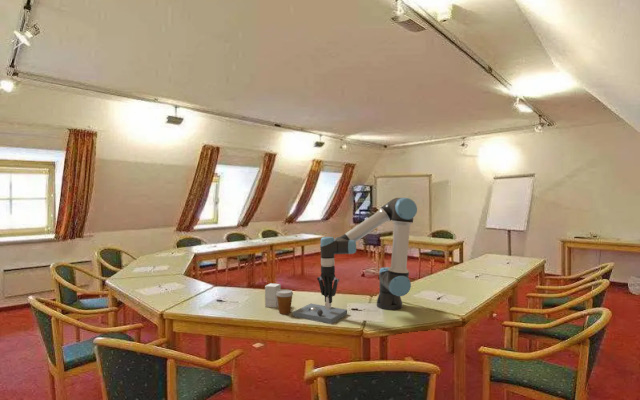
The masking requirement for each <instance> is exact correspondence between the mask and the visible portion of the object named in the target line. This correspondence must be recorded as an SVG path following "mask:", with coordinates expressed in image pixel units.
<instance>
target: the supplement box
mask: <svg viewBox="0 0 640 400" xmlns="http://www.w3.org/2000/svg"><path fill="white" fill-rule="evenodd" d="M281 287H282V285H281V283H271V282H270V283H268V284H266V285H265V286H264V302H265V304H264V305H265V308H275V309H276V308H277V307H278V299H277V295H276V293H277V291H279V290H282V288H281ZM278 308H279V307H278Z"/></svg>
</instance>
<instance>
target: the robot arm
mask: <svg viewBox="0 0 640 400" xmlns="http://www.w3.org/2000/svg"><path fill="white" fill-rule="evenodd" d="M417 212H418V207H417V203H416V202H415V201H414V200H413V199H411V198H408V197H396V198H392V199H391V200H390V201H388V202H387V203H385V204H384V205H383V206H381V207H379V210H378V211H376V212H375V213H373V214H372V215H370V216H369V217H368V218H366V219H365V220H363V221H362V222H360V223H359V224H357V225H355V227H352V228H351V229H350V230H349V231H346V233H344V234H342V235H341V236H337V237H335V238H334V237H333V236H323V237H321V238H320V245H319V246H320V248H319V249H320V265H321V266H320V273H321V274H320V276H318V277H317V278H316V279H317V280H316V281H317V282H318V284H319V289H320V293H321V296H324V303H326V309H330V308H331V307H332V303H333V297H335V296H336V294H337V288H338V285H339V284H338V283H339V282H340V278H337V277H336V273H335V272H336V271H335V270H336V269H335V268H336V267H335V255H353V254H355V253H356V252H357V242H358V241H359V240H361V239H362V238H364V237H366V236H367V235H368V234H370V233H372V232H373V231H374V230H376V229H377V228H379V227H380V226H382V225H384V224H385V223H386V222H388V223H389V222H392V224H393V236H392V237H393V238H392V250H391V260H390V266H387V267H380V268H379V273H378V274H379V278H378V279H379V294H378V297H377V299H376V307H377V308H379V309H383V310H389V311H390V310H391V311H393V310H394V311H395V310H400V309H402V308H403V300H402V298H401V297H403V296H406V295H407V294H409V292H410V291H411V288H412V283H411V279H409V275H410V272H409V270H408V269H407V265H408V264H407V263H408V254H409V241H410V240H409V239H410V230H411V229H410V228H411V225H413V223H414V217H416V215H417V214H418V213H417Z"/></svg>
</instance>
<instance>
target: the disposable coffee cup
mask: <svg viewBox="0 0 640 400" xmlns="http://www.w3.org/2000/svg"><path fill="white" fill-rule="evenodd" d="M276 295H277V299H278V313H279V314H281V315H288V314H290V313H291V310H292V309H291V308H292V301H293V300H292V299H293V295H294V292H293V290H292V289H281V290H279V291H277V293H276Z"/></svg>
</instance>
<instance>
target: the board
mask: <svg viewBox="0 0 640 400" xmlns="http://www.w3.org/2000/svg"><path fill="white" fill-rule="evenodd" d="M312 307H314V308H316V310H314V311H311V310H310V309H311V308H312ZM318 310H322V311H323V314H322V315H321V316H319V315H318V314H317V311H318ZM292 315H293V317H295V318H300V319H306V320H310V321H315V322H320V323H325V324H331V325H332V324H333V323H335V322H337V321H339V319H342V318H343V317H345V316H347V315H348V309H345V308H339V307H333V306H331V308H330V309H326V306H325V305H322V304H317V303H308V304H306V305H304V306H303V307H300V308H299V309H296V310H294V311H293V312H292Z"/></svg>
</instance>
